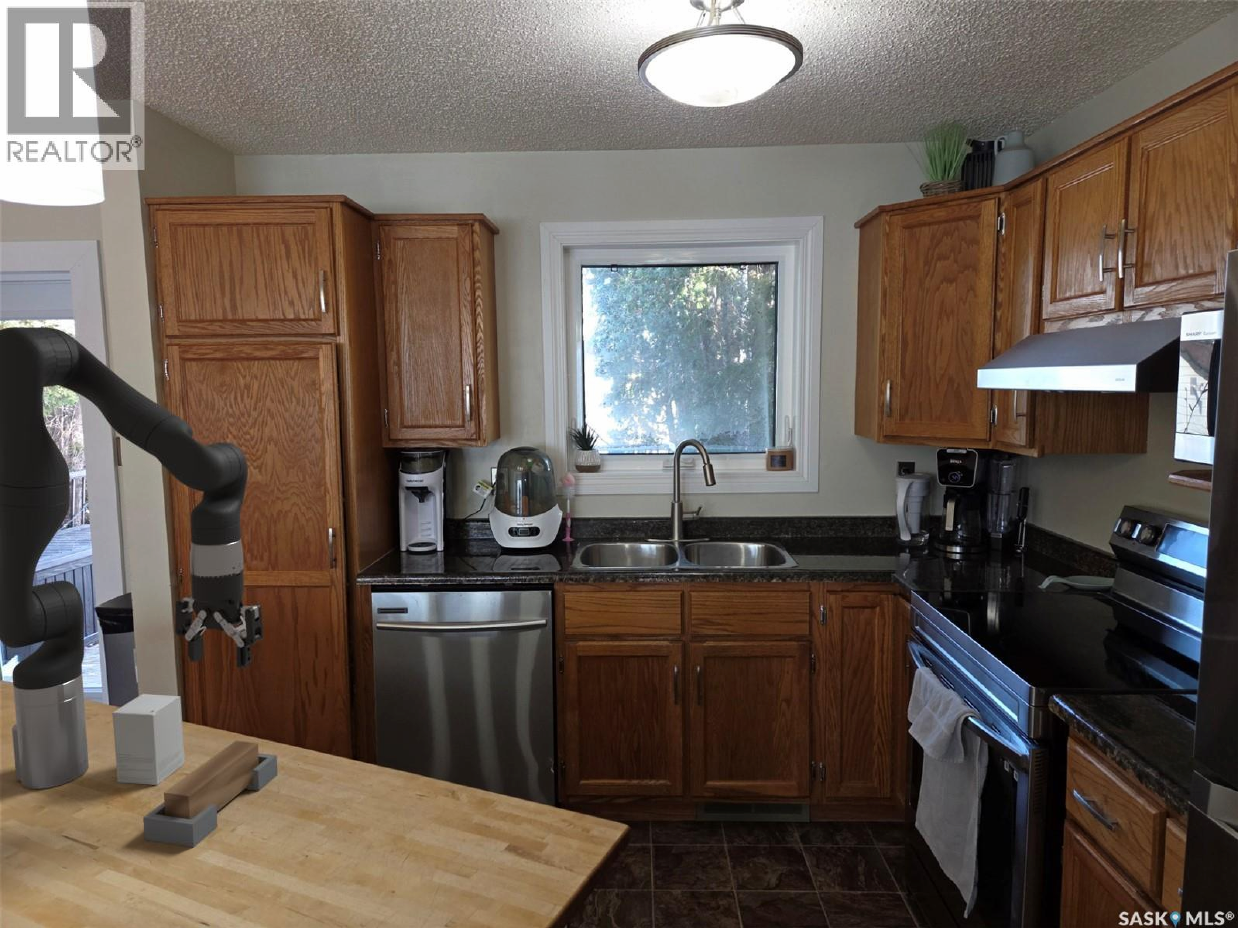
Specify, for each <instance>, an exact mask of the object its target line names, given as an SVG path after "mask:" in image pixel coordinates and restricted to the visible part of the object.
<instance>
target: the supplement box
mask: <svg viewBox="0 0 1238 928" xmlns="http://www.w3.org/2000/svg"><path fill="white" fill-rule="evenodd" d="M181 703H182V700H181V695H180V696H178V695H166V694H165V695H163V694H162V695H161V694H150V693H149V694H147V693H142V694H140V695H139V696H137V697H135V698H133V699H132V700H130V701H128V702H127V703H125V704H123V705H122V706H120V707H119V708H117V709H116V710H114V711H112V713H111V715H112V723H113V736H114V750H115V751H114V753H115V763H116V764H115V765H116V773H117V774H116V775H117V776H116V777H117V783H124V784H137V785H139V784H140V785H150V786H151V785H153V786H157V785H159V784H161V783H162V782H164V780H166V779H167V778H168V777H169V776H170V775H172V774H173V773H174V772H176V771H177V770H178V769H180V768H181V767H182V766H183V765H184V764H185V749H184V734H183V733H184V732H183V717H182V715H183V714H182V704H181Z"/></svg>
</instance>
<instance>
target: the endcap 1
mask: <svg viewBox="0 0 1238 928" xmlns="http://www.w3.org/2000/svg"><path fill="white" fill-rule="evenodd" d="M217 812H218V811H217V808H216V805H213V804H210V805H209V806H208V807H206V808H205V809H204V810H203V811H201V812H200V813H199V814H198V815H197V816H195V817H194V818H193V819H192V820H191V819H184V818H177V817H170V816H165V804H164V801H163V802H162V803H161V804H159V805H158V806H156V807H155V808H154V809H152V810H151V811H150V812H148V813H147V814H146V815H144V816H143V831H144V832H143V836H144V840H145V841H150V842H157V843H158V842H159V843H164V844H171V845H177V846H183V847H184V846H185V847H188V848H189V847H191V848H195V847H196V846H197V845H198V844H199V843H201V842H202V841H203V840H204V839H205V838H206V837H208V835H210V834H211V833H212V832H213V831H214V830H216V829H217V828H218V813H217Z"/></svg>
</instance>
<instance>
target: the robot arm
mask: <svg viewBox="0 0 1238 928" xmlns="http://www.w3.org/2000/svg"><path fill="white" fill-rule="evenodd" d="M57 386H60V387H62V388H65V389H67V390H69V391H72V392H74V393H75V394H78V395H80V396H82V397H83V398H85V399H87V400H88V401H90V402H91V403H92V404H93V405H94V406H95V407H96V408H97V409H98V410H99V412H101V414H102V416H103V417H104V419H105V420H106V421H107V423H108V424H109V426H110V427H111V428H112V429H113V430H114V431H115V432H116V433H118V434H119V436H121V437H122V438H124V439H125V440H128V441H129V443H131V444H133V445H134V446H136V447H138V448H139V449H141V450H143V451H145V452H146V453H148V454H150V455H152V456H153V457H155V458H156V460H157V461H158V462H159V463H160V464H161V465H162V466H163V467H164V468H165V469H166V470H167V471H168V472H169V473H170V474H171V475H172V476H173V477H174V478H175V479H176V480H177V481H178V482H180V483H181V484H182V485H185V486H186V487H187V488H190V489H193V490H195V491H197V492H203V493H202V499H201V500H200V502H199V503H198V504H197V505H195V506H194V508H193V509H192V510H191V513H190V537H191V538H190V539H191V540H190V541H191V543H190V544H191V545H190V553H189V564H190V565H189V566H190V567H189V568H190V570H189V571H190V592H191V595H188V596H186V597H183V598H181V599H178V600H176V601H175V619H174V621H175V623H174V624H175V626H174V629H175V630H174V632H175V634H176V636H183V637H184V638H185V640H186V641H187V655H188V658H189V661H190V662H191V663H197V662H199V661H201V660H202V659H203V658H204V657H205V656H204V636H202V634H203V633H204V632H205V631H206V630H217V631H221V632H225V634H226V635H227V636H228V637H230V638H232V639H233V640H234V642H235V644H236V648H235V649H236V668H237V669H242V670H243V669H244V668H246V667H248V666H249V665H250V663H251V662H252V660H253V659H252V658H253V656H252V654H253V653H252V652H253V651H252V646H253V645H254V644H256V643H257V642H259V641H261V640H263V639H264V625H263V617H262V612H263V611H262V607H261V605H260V604H254V605H245V604H244V603H243V600H242V599H243V595H244V593H245V583H244V581H245V580H244V578H245V577H244V576H245V575H244V551H243V545H242V531H241V530H242V529H241V528H242V527H241V525H242V523H241V522H242V521H241V510H242V505H243V502H244V498H245V492H246V489H247V488H246V487H247V484H248V473H249V472H248V470H249V468H248V462H247V458H246V456H245V453H244V452H243V451H242V449H240V447H238V446H237V445H236V444H234V443H231V442H224V441H222V442H216V443H211V444H203V443H201V442H199V441H198V440H196V439H195V438H194V437H193V436H194V435H193V434H194V432H193V428H192V427H191V425H190V424H189V423H187V421H185V420H184V419H183V418H181V417H179V416H177V415H176V414H174V413H173V412H171V411H170V410H168V409H167V408H165V407H163V406H162V405H160V404H158V403H156V402H155V401H153V400H152V399H151V398H148V397H147V396H146V395H144V394H143V393H141V392H140V391H139V390H137V389H135V388H134V387H133V386H131V385H130V384H129V383H128V382H126V381H125V380H124V379H122V377H120V376H119V375H118V374H116V373H115V372H114V371H113V370H112V369H111V368H110V367H108V366H107V365H105V363H103V362H102V361H101V360H100V359H99V358H97V357H96V356H95V355H94V354H93V353H92V352H91V351H89V350H88V348H86V347H85V346H84V345H82V343H80V342H79V341H78V340H77V339H75V338H74V337H73V336H72V335H70V334H69V333H67V332H65V331H63V330H61V329H58V328H53V327H47V326H46V327H44V326H43V327H42V326H41V327H39V326H37V327H31V326H30V327H28V326H27V327H25V326H22V327H21V326H17V327H16V326H15V327H12V326H11V327H6V328H5V327H4V328H2V329H0V641H1V643H2V644H3V645H4V646H5V647H8V648H11V649H18V648H23V647H27V646H32V645H36V644H39V643H42V644H41V645H40V646H39V647H37V649H36V650H35V651H34V652H32V653H31V654H30V655H28V656H27V657H26V658H24V659H22V660H20V661H19V662H18V663H17V664H16V665H15V666H14V668H13V669H12V673H11V674H12V684H13V685H12V686H13V698H14V708H15V710H14V711H15V721H16V724H14V725H13V726H12V727H11V731H12V732H11V733H12V744H13V745H12V746H13V756H14V768H15V780H16V781H18V780H19V782H21V785H22V786H23V787H24V788H27V789H32V790H33V789H35V790H36V789H38V790H40V789H48V788H54V787H57V786H60V785H61V786H62V785H64V784H67V783H70V782H71V781H74V780H76V779H78V778H80V777H81V776H83V775H84V774H85V773H86V772H87V771H88V769H89V753H88V752H89V751H88V737H87V724H86V723H87V722H86V721H87V720H86V708H85V694H84V680H83V667H82V666H83V661H84V658H85V639H84V638H85V630H84V629H85V614H84V613H85V611H84V604H83V600H82V599H83V598H82V596H81V593H80V592H79V590H78V588H77V587H76V585H74V584H73V583H72V582H70V581H68V580H56V581H51V582H46V583H45V582H44V583H42V584H36V585H34V580H35V579H34V578H35V574H36V569H37V566H38V563H39V561H40V559H41V557H42V555H43V554H44V552H45V550H46V548H47V547H48V545H49V544H50V543H51V542H52V540H53V538H54V537H55V536H56V534H57V532H58V531H59V530H60V528H61V526H62V525H63V524H64V521H65V520H66V518H67V516H68V513H69V510H70V504H71V494H70V493H71V491H70V490H71V482H70V481H71V478H70V477H71V475H70V469H69V466H68V463H67V461H66V458H65V456H64V455H63V454H62V451H61V449H60V448H59V447H58V445H57V444H56V442H55V441H54V439H53V437H52V435H51V434H50V432H49V430H48V427H47V424H46V421H45V416H44V388H47V387H49V388H50V387H57ZM194 614H195V615H196V618H195V619H194ZM235 625H237V627H234V626H235Z"/></svg>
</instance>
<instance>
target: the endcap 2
mask: <svg viewBox="0 0 1238 928" xmlns="http://www.w3.org/2000/svg"><path fill="white" fill-rule="evenodd" d="M258 755H259V765H258V766H257V767H256V768H254V769H253V782H252V783H251V784H250V785H248V786H247V787H246V788H245V789H244V790H250V791H257V792H259V791H261V790H262V789H263V788H265V786H267V784H269V783H270V782H271V781H272V780H273V779H274V778H275V777H277V776H278V755H276V754H268V753H262V752H258Z"/></svg>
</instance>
